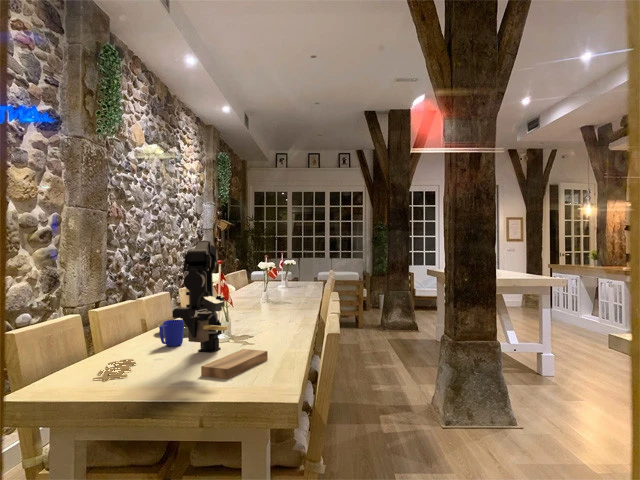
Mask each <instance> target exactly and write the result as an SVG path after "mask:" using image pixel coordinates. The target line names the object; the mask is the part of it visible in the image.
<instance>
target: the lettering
mask: <svg viewBox="0 0 640 480" xmlns="http://www.w3.org/2000/svg"><path fill="white" fill-rule="evenodd" d="M126 360H128V361H126ZM131 361H134V362H131ZM116 362H123V363H116ZM113 363H115V364H119V365H117V366H116V365H115V366H116V367H111V368H107V367H106V368H104V369H105V370H106V371H105V372H104V373H103V371H104V370H103V371H101V370H102V369H101V370H99V371H98V373H97V374H102V373H103V374H102V376H98V377H93V378H92V379H103V380H108V379H109V378H120V377H126V376H127V377H128V374H127V373H124V371H131V372H132V369H131V366H130V365H134V364H136V365H137V363H136V361H135V359H131V358H129V359H128V358H126V359H120V360H115V361H110V362H109V363H107V364H108V365H110V364H111V365H112V364H113ZM122 365H126V366H122ZM129 366H130V367H129ZM112 368H113V369H112ZM115 368H117V369H115ZM118 368H120V369H118ZM109 369H110V371H108V370H109ZM129 369H130V370H129ZM113 370H114V371H115V370H121V371H118V372H119V373H117V372H112V371H113ZM116 373H117V374H116ZM123 373H124V374H123ZM109 374H111V375H110V376H108V375H109ZM122 374H123V375H122ZM127 377H126V378H127ZM103 380H102V381H103ZM108 381H109V380H108Z"/></svg>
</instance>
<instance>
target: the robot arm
mask: <svg viewBox="0 0 640 480" xmlns="http://www.w3.org/2000/svg"><path fill="white" fill-rule="evenodd" d="M218 257H219V256H218V249H217V247H216V246H214V245H213V244H212V243H211V241H210V240H198V241H196V244H195V247H194V249H188V250H186V253H185V254H184V260H183V272H184V273H185V272H188V273H187V274H186V275H185V277H184V279H183V286H184V288H185V289H186V290H188V291H185V295H186V296H188V304H186V305H185V306H180V307H175V308H174V309H173V310H172V313H171V314H172V315H171V316H172V318H174V319H175V318H176V319H180V320H183V321H184V322H185V324H186V326H187V327H188V329H189V331H190V333H191V335H192V337H193V338H195V337H196V333H197V321H198V320H208V324H209V325H217V326H222V322H221V320H220V319H219V316H218V313H217V312H221V311H223V308H222V307H223V306H225V296H223V295H220V294H219V295H217V296H214V284H213V280H214V279H213V272H214V270H215V268H216V266H217V263H218V259H219V258H218ZM222 334H223V331H221V330H209V340H208V341H204V342H199V343H200V348H199V349H197V351H198V352H206V353H214V352H216V351H219V350H221V346H220V338H219V336H220V335H222Z"/></svg>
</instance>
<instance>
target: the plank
mask: <svg viewBox="0 0 640 480" xmlns="http://www.w3.org/2000/svg"><path fill="white" fill-rule="evenodd" d="M268 357H269V355H268V350H260V349H249V348H248V349H247V348H242V349H240V350H238V351H235V352H232V353H230V354H227V355H225V356H223V357H220V358H218V359H215V360H213V361H211V362H208V363H205V364H203V365H201V366H200V373H201V374H200V376H202V377H210V378H218V379H226V380H229V379H231V378H233V377H234V376H236V375H238V374H241V373H243V372H245V371H247V370H249V369H251V368H253V367H255V366H257V365H258V364H261V363H263V362H265V361H267V360H268Z"/></svg>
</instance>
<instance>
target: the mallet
mask: <svg viewBox="0 0 640 480" xmlns="http://www.w3.org/2000/svg"><path fill="white" fill-rule="evenodd" d="M209 330H216V331H218V330H221V331H222V334H224V333H225V331H227V330H228V326H227V325H221V326H217V325H209V324H208V320H198V321H197V333H196V337H195V338H193V337H192V335H191V333H190V331H189V329H188V336H187V337H188V343H189V342H190V343H200V342H204V341H208V340H209Z"/></svg>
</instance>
